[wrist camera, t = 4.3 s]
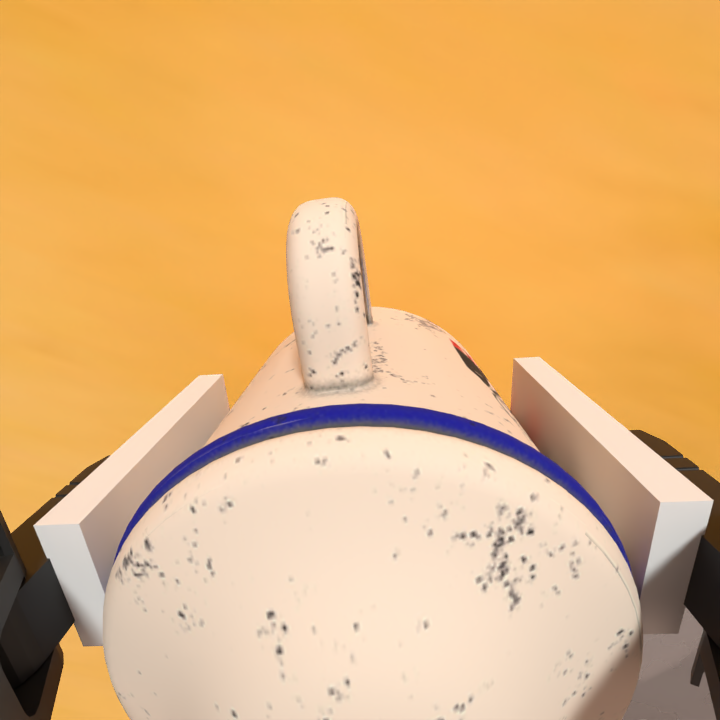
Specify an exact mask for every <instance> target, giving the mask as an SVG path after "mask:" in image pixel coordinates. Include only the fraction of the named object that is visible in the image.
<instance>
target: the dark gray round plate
mask: <svg viewBox="0 0 720 720" xmlns="http://www.w3.org/2000/svg"><path fill="white" fill-rule="evenodd" d="M702 632H703V627H702V626H701V625H700V624H699V623H698V621H697V620H696V619H695V618H694V616H693V615H692V614H691V613H690V611H689V610H688V609H687V608H686V607H685V611H684V614H683V618H682V622H681V626H680V630H679V633H678V634H643V653H642V664H641V669H640V673H639V678H638V682H637V685H636V688H635V691H634V694H633V697H632V699H631V702H630V705H629V706H628V708H627V710H626V712H625V714H624V716H623V718H622V720H716V716H715V712H714V708H713V703H712V699H711V695H710V691H709V687H708V683H707V679H706V675H705V672H704V673H703V675H702V678H701V682H700V685H699V687H697V686H694V685H692V684H690V679H691V670H692V666H693V663H694V659H695V656H696V653H697V649H698V646H699V642H700V639H701V635H702Z"/></svg>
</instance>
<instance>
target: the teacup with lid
mask: <svg viewBox="0 0 720 720" xmlns="http://www.w3.org/2000/svg"><path fill="white" fill-rule="evenodd" d="M286 262H287V281H288V291H289V300H290V307H291V314H292V321H293V326H294V332H293V333H292V334H291V335H289V336H288V337H287V338H286V339H285V340H284V341H283V342H282V343H281V344H280V345H279V346H278V347H277V348H276V349H275V351H274V352H273V353H272V354H271V356H270V357H269V358H268V360H267V361H266V362H265V364H264V365H263V366H262V368H261V369H260V371H259V372H258V373H257V375H256V376H255V377H254V379H253V380H252V381H251V383H250V384H249V385H248V387H247V388H246V389H245V391H244V392H243V393H242V395H241V396H240V398H239V399H238V400H237V402H236V403H235V404H234V406H233V407H232V408H231V410H230V411H229V412H228V414H227V415H226V416H225V418H224V419H223V420H222V422H221V423H220V424H219V426H218V427H217V429H216V430H215V431H214V433H213V434H212V435H211V437H210V438H209V439H208V441H207V442H206V443H205V445H204V446H203V447H202V448H201V449H200V450H198V451H196V452H195V453H194V454H192V455H191V456H190V457H188V458H187V459H186V460H184V461H183V462H182V463H180V464H179V465H178V466H176V467H175V468H174V469H173V470H172V471H171V472H170V473H169V474H168V475H167V476H166V477H165V478H164V479H163V480H161V481H160V482H159V483H158V484H157V485H156V486H155V488H154V489H153V490H152V491H151V493H150V494H149V495H148V496H147V497H146V499H145V500H144V501H143V502H142V504H141V505H140V506H139V508H138V510H137V511H136V513H135V514H134V516H133V518H132V519H131V521H130V522H129V524H128V526H127V528H126V530H125V532H124V534H123V537H122V539H121V541H120V543H119V546H118V549H117V553H116V556H115V559H114V563H113V567H112V570H111V573H110V576H109V580H108V583H107V587H106V592H105V599H104V606H103V647H104V655H105V661H106V664H107V668H108V672H109V675H110V679H111V682H112V685H113V687H114V690H115V692H116V694H117V697H118V699H119V701H120V703H121V704H122V706H123V708H124V710H125V712H126V713H127V715H128V716H129V718H130V719H131V720H622V718H623V716H624V714H625V712H626V710H627V708H628V706H629V705H630V702H631V699H632V697H633V694H634V691H635V688H636V685H637V682H638V678H639V673H640V669H641V664H642V653H643V625H642V612H641V605H640V600H639V596H638V592H637V587H636V585H635V582H634V580H633V576H632V571H631V567H630V563H629V560H628V558H627V555H626V552H625V550H624V547H623V544H622V542H621V540H620V538H619V537H618V535H617V533H616V531H615V529H614V527H613V526H612V524H611V522H610V520H609V519H608V518H607V516H606V515H605V513H604V512H603V511H602V509H601V508H600V507H599V505H598V504H597V502H596V501H595V500H594V499H593V498H592V497H591V496H590V494H589V493H588V492H587V491H586V490H585V489H584V488H583V487H582V486H581V485H580V484H579V483H578V482H577V481H576V480H575V479H574V478H573V477H572V476H570V475H569V474H568V473H567V472H566V471H565V470H563V469H562V468H561V467H560V466H559V465H558V464H556V463H555V462H554V461H552V460H551V459H549V458H548V457H546V456H545V455H543V454H542V453H540V451H539V450H538V448H537V447H536V446H535V444H534V443H533V442H532V440H531V439H530V437H529V436H528V435H527V433H526V432H525V431H524V429H523V428H522V426H521V425H520V424H519V422H518V421H517V420H516V418H515V417H514V415H513V414H512V413H511V411H510V410H509V408H508V407H507V406H506V404H505V403H504V402H503V400H502V399H501V397H500V396H499V395H498V393H497V392H496V391H495V389H494V388H493V386H492V385H491V384H490V382H489V381H488V379H487V378H486V377H485V375H484V374H483V373H482V371H481V370H480V368H479V367H478V366H477V364H476V363H475V362H474V360H473V359H472V357H471V356H470V355H469V353H468V352H467V351H466V350H465V348H464V347H463V346H462V345H461V344H460V343H459V342H458V341H457V340H456V339H455V338H453V337H452V336H451V335H450V334H449V333H447V332H446V331H445V330H443V329H442V328H440V327H439V326H437V325H435V324H434V323H432V322H430V321H428V320H426V319H424V318H422V317H420V316H417V315H414V314H411V313H408V312H405V311H401V310H397V309H392V308H384V307H371V302H370V294H369V286H368V278H367V271H366V263H365V256H364V250H363V243H362V237H361V232H360V226H359V222H358V218H357V214H356V212H355V210H354V209H353V207H352V206H351V205H350V204H349V203H348V202H347V201H346V200H344V199H341V198H325V199H318V200H312V201H308V202H305V203H303V204H301V205H299V206H298V207H297V209H296V210H295V211H294V213H293V214H292V217H291V219H290V222H289V226H288V231H287V242H286Z"/></svg>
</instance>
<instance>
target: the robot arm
mask: <svg viewBox="0 0 720 720" xmlns="http://www.w3.org/2000/svg"><path fill="white" fill-rule="evenodd" d="M229 411H230V408H229V403H228V398H227V393H226V388H225V382H224V377H223V374H217V375H199V376H198V377H197V378H196V379H195V380H194V381H193V382H191V383H190V384H189V385H188V386H187V387H186V388H185V389H184V390H183V391H182V392H180V393H179V394H178V395H177V396H176V397H175V398H174V399H173V400H172V401H170V402H169V403H168V404H167V405H166V406H165V407H164V408H163V409H162V410H161V411H159V412H158V413H157V414H156V415H155V416H154V417H153V418H152V419H151V420H149V421H148V422H147V423H146V424H145V425H144V426H143V427H142V428H141V429H140V430H138V431H137V432H136V433H135V434H134V435H133V436H132V437H131V438H130V439H128V440H127V441H126V442H125V443H124V444H123V445H122V446H121V447H120V448H119V449H117V450H116V451H115V452H114V453H113V454H112V455H109V456H107V457H105V458H103V459H101V460H100V461H98V462H96V463H94V464H93V465H91V466H89V467H87V468H86V469H85V470H83V471H82V472H81V473H80V474H79V475H78V476H77V477H75V478H74V479H73V480H72V481H71V482H70V485H66V486H65V487H64V488H63V489H62V490H61V491H59V492H58V493H57V494H56V497H55V498H51V499H50V500H49V501H48V502H47V503H46V504H44V505H43V506H42V507H41V508H40V509H39V510H38V511H36V512H35V513H34V514H33V515H32V516H31V517H30V518H28V519H27V520H26V521H25V522H24V523H23V524H22V525H20V526H19V527H18V528H17V529H16V530H15V531H13V532H12V533H10V531H9V529H8V527H7V524H6V522H5V520H4V517H3V515H2V513H1V511H0V720H51V715H52V711H53V707H54V703H55V698H56V694H57V690H58V686H59V681H60V677H61V673H62V669H63V664H64V663H63V651H62V649H61V647H60V645H59V642H60V641H61V639H62V638H63V637H64V635H65V634H66V632H67V631H68V630H69V628H70V627H71V626H72V624H73V623H74V625H75V627H76V630H77V632H78V635H79V637H80V639H81V642H82V644H83V646H103V606H104V599H105V592H106V587H107V583H108V580H109V576H110V573H111V570H112V567H113V563H114V559H115V556H116V553H117V549H118V546H119V543H120V541H121V539H122V537H123V534H124V532H125V530H126V528H127V526H128V524H129V522H130V521H131V519H132V518H133V516H134V514H135V513H136V511H137V510H138V508H139V506H140V505H141V504H142V502H143V501H144V500H145V499H146V497H147V496H148V495H149V494H150V493H151V491H152V490H153V489H154V488H155V486H156V485H157V484H158V483H159V482H160V481H161V480H163V479H164V478H165V477H166V476H167V475H168V474H169V473H170V472H171V471H172V470H173V469H174V468H175V467H176V466H178V465H179V464H180V463H182V462H183V461H184V460H186V459H187V458H188V457H190V456H191V455H192V454H194V453H195V452H196V451H198V450H200V449H201V448H202V447H203V446H204V445H205V443H206V442H207V441H208V439H209V438H210V437H211V435H212V434H213V433H214V431H215V430H216V429H217V427H218V426H219V424H220V423H221V422H222V420H223V419H224V418H225V416H226V415H227V414H228V412H229ZM511 413H512V414H513V415H514V417H515V418H516V420H517V421H518V422H519V424H520V425H521V426H522V428H523V429H524V431H525V432H526V433H527V435H528V436H529V437H530V439H531V440H532V442H533V443H534V444H535V446H536V447H537V448H538V450H539V451H540V453H542V454H543V455H545V456H546V457H548V458H549V459H551V460H552V461H554V462H555V463H556V464H558V465H559V466H560V467H561V468H562V469H563V470H565V471H566V472H567V473H568V474H569V475H570V476H572V477H573V478H574V479H575V480H576V481H577V482H578V483H579V484H580V485H581V486H582V487H583V488H584V489H585V490H586V491H587V492H588V493H589V494H590V496H591V497H592V498H593V499H594V500H595V501H596V502H597V504H598V505H599V507H600V508H601V509H602V511H603V512H604V513H605V515H606V516H607V518H608V519H609V520H610V522H611V524H612V526H613V527H614V529H615V531H616V533H617V535H618V537H619V538H620V540H621V542H622V544H623V547H624V550H625V552H626V555H627V558H628V560H629V563H630V567H631V571H632V576H633V580H634V582H635V585H636V587H637V592H638V596H639V600H640V605H641V612H642V625H643V634H678V633H679V630H680V626H681V622H682V618H683V614H684V611H685V607H686V608H687V609H688V610H689V611H690V613H691V614H692V615H693V616H694V618H695V619H696V620H697V621H698V623H699V624H700V625H701V626H702V627H703V632H702V635H701V639H700V642H699V646H698V649H697V653H696V656H695V659H694V663H693V666H692V670H691V679H690V684H692V685H694V686H697V687H699V685H700V682H701V678H702V675H703V673H704V672H705V675H706V679H707V683H708V687H709V691H710V695H711V699H712V703H713V708H714V712H715V716H716V720H720V483H719V482H718V481H716V480H715V479H714V478H712V477H711V476H710V475H709V474H707V473H706V472H705V471H703V470H699V467H698V466H697V465H695V464H694V463H693V462H691V461H690V460H689V459H687V458H683V455H682V454H681V453H680V452H678V451H677V450H676V449H674V448H673V447H672V446H670V445H669V444H668V443H666V442H665V441H663V440H661V439H659V438H657V437H654V436H652V435H650V434H648V433H646V432H643V431H641V430H627V429H626V428H625V427H624V426H623V425H621V424H620V423H619V422H618V421H617V420H615V419H614V418H613V417H612V416H610V415H609V414H608V413H607V412H606V411H604V410H603V409H602V408H601V407H600V406H598V405H597V404H596V403H595V402H593V401H592V400H591V399H590V398H589V397H587V396H586V395H585V394H584V393H583V392H581V391H580V390H579V389H578V388H576V387H575V386H574V385H573V384H572V383H570V382H569V381H568V380H567V379H566V378H564V377H563V376H562V375H561V374H559V373H558V372H557V371H556V370H555V369H553V368H552V367H551V366H550V365H549V364H547V363H546V362H545V361H544V360H542V359H541V358H540V357H528V358H514V362H513V378H512V395H511Z"/></svg>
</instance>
